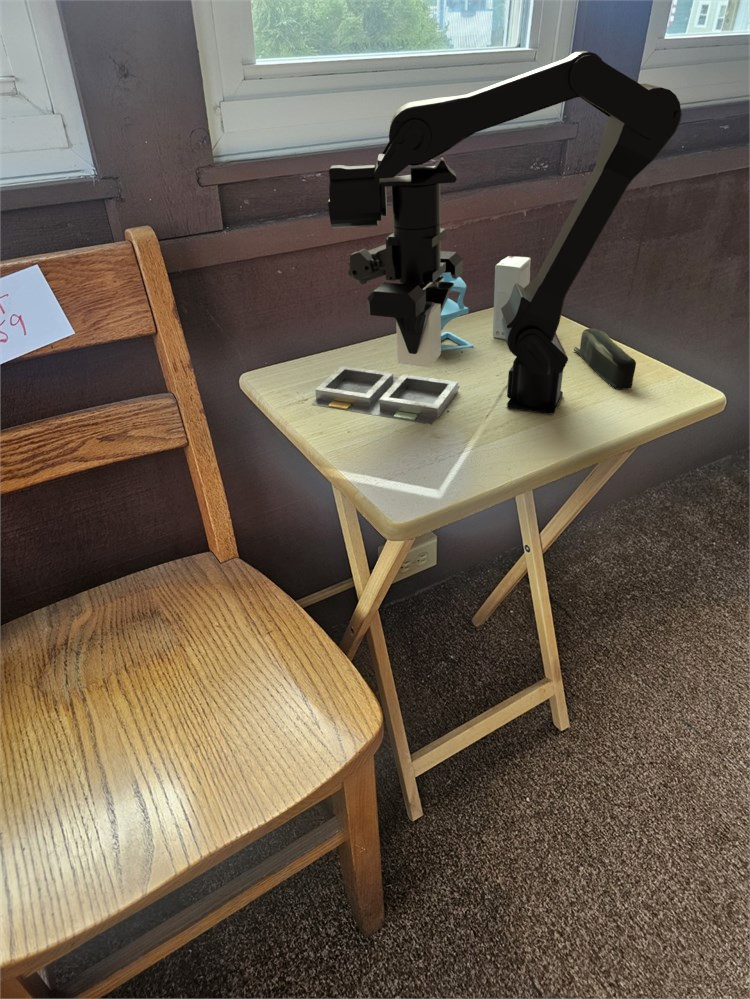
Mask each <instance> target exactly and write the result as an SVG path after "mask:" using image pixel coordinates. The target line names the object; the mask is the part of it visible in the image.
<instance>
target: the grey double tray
mask: <svg viewBox="0 0 750 999" xmlns="http://www.w3.org/2000/svg"><path fill="white" fill-rule="evenodd" d="M460 388H461V387H460V385H459V381H453V380H446V379H440V378H432V377H425V376H417V375H411V374H403V373H402V374H401V375H400V377H397V376H394V372H390V371H389V372H388V371H381V370H374V369H367V368H362V367H361V368H360V367H354V366H353V367H352V366H346V365H341V366H340V367H339V368H338V369H336V370H335V371H334V372H333V373H332V374H331V375H330V376H328V377H327V378H326V379H325V380H324V381H323V382H322V383H321V384H320V385H319V386H318V387H316V388H315V389H314V390H315V399H316V400H315V401H314V402H313V403H312V404H311V406H315V407H316V406H317V407H323V408H329V409H336V410H340V411H348V412H352V413H359V414H365V415H371V416H378V417H383V418H389V419H394V420H395V419H396V420H401V421H408V422H414V423H419V424H425V425H433V423H434V422H435V420H436V419H439V418H440V416H441V414H443V412H444V411H445V409H446V408H447V406H448V405H449V404H450V403H451V401H452V400H453V399H454V398H455V396H456V395H457V393H458V392H459V389H460Z"/></svg>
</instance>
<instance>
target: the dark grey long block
mask: <svg viewBox="0 0 750 999" xmlns="http://www.w3.org/2000/svg"><path fill="white" fill-rule="evenodd" d="M580 337H581V338H580V343H579V344H580V345H579V347H577V346H575V347H573V352H575V353H576V354H578V356H580V357H581V356H582V357H583V358H582V357H581V358H582V359H583V360H584V359H585V360H586V361H587V362H586V361H585V360H584V361H585V362H586V363H587V365H589V366H590V367H591V368H592V369H593V370H594V371H595V372H596V373H597V375H598V376H600V377H601V378H602V380H604V381H605V382H606V383H607V384H608V385H609V384H610V385H611V386H612V388H613V387H614V389H617V390H630V389H631V388H632V386H633V381H634V376H635V371H636V366H637V361H636V360H635V359H634V358H633V357H631V356H630V355H629V354H628V353H626V351H624V350H623V348H621V347H620V346H619V345H618V344H616V343H615V342H614V341H613V340H612V339H611V337H610V336H609V335H608V334H607V333H606V332H605V331H603V330H599V329H596V328H593V327H592V328H586V329H584V330H583V331H582V333H581V336H580ZM610 385H609V386H610ZM611 386H610V387H611ZM629 388H630V389H629Z"/></svg>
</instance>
